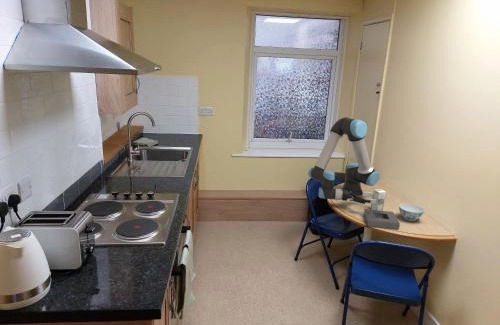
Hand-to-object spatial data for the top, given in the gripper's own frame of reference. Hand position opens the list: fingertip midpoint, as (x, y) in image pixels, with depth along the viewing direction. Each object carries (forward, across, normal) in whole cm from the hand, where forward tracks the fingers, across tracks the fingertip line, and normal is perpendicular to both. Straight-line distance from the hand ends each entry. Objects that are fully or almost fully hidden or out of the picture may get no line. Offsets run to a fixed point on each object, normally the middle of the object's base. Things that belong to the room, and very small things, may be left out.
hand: (373, 198), depth 233 cm
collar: (+2, +18, -9) cm, 20 cm away
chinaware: (+22, +8, -9) cm, 25 cm away
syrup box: (+3, -1, -9) cm, 10 cm away
